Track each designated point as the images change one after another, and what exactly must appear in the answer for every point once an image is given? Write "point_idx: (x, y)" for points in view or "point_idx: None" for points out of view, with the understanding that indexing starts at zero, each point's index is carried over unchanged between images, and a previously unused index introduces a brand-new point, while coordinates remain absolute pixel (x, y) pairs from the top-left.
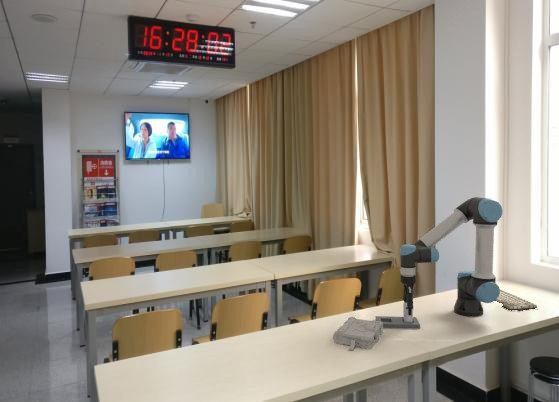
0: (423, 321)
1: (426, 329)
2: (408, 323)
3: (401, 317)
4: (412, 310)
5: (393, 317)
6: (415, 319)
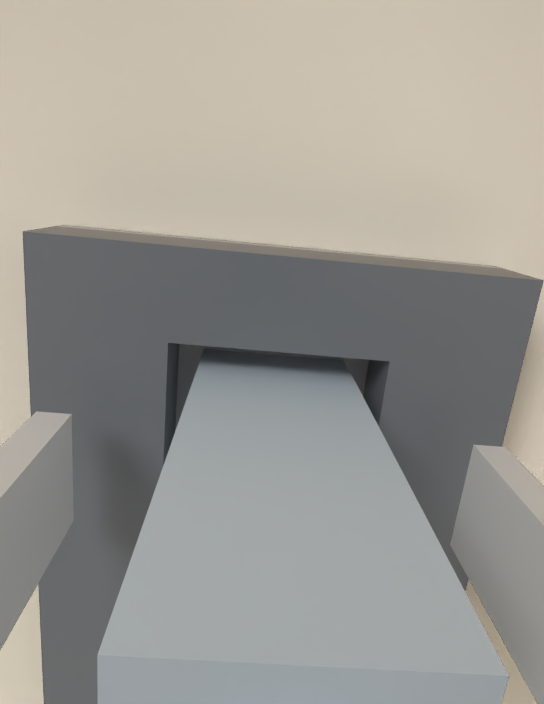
0: (39, 57)
1: (499, 143)
2: (431, 479)
3: (86, 527)
4: (439, 550)
5: (95, 649)
6: (201, 288)
